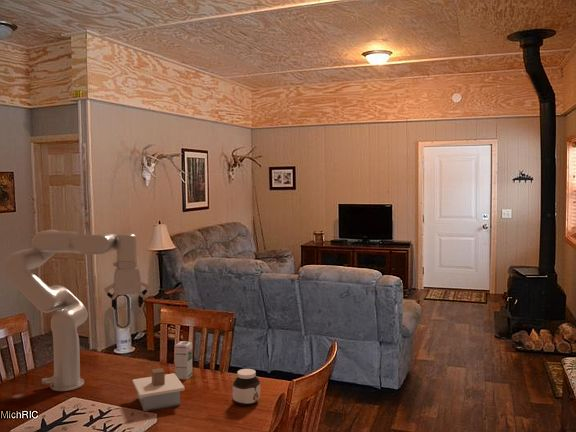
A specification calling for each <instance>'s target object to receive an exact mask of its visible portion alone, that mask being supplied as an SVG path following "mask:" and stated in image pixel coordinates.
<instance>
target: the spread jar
mask: <svg viewBox="0 0 576 432" xmlns="http://www.w3.org/2000/svg"><path fill="white" fill-rule="evenodd" d="M236 373H237V375H236V376H237V377H235V379H234V380H233V382H232V383H233V384H232V400H233V401H234V402H235V403H236V404H238V405H239V406H243V407H250V406H253V405H255V404H256V403H257V402H258V401H259V399H260V397H261V381H260V379H259V378H258V377H257V374H256V373H257V372H256V370H255V369H251V368H242V369H239V370H237V372H236Z"/></svg>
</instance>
